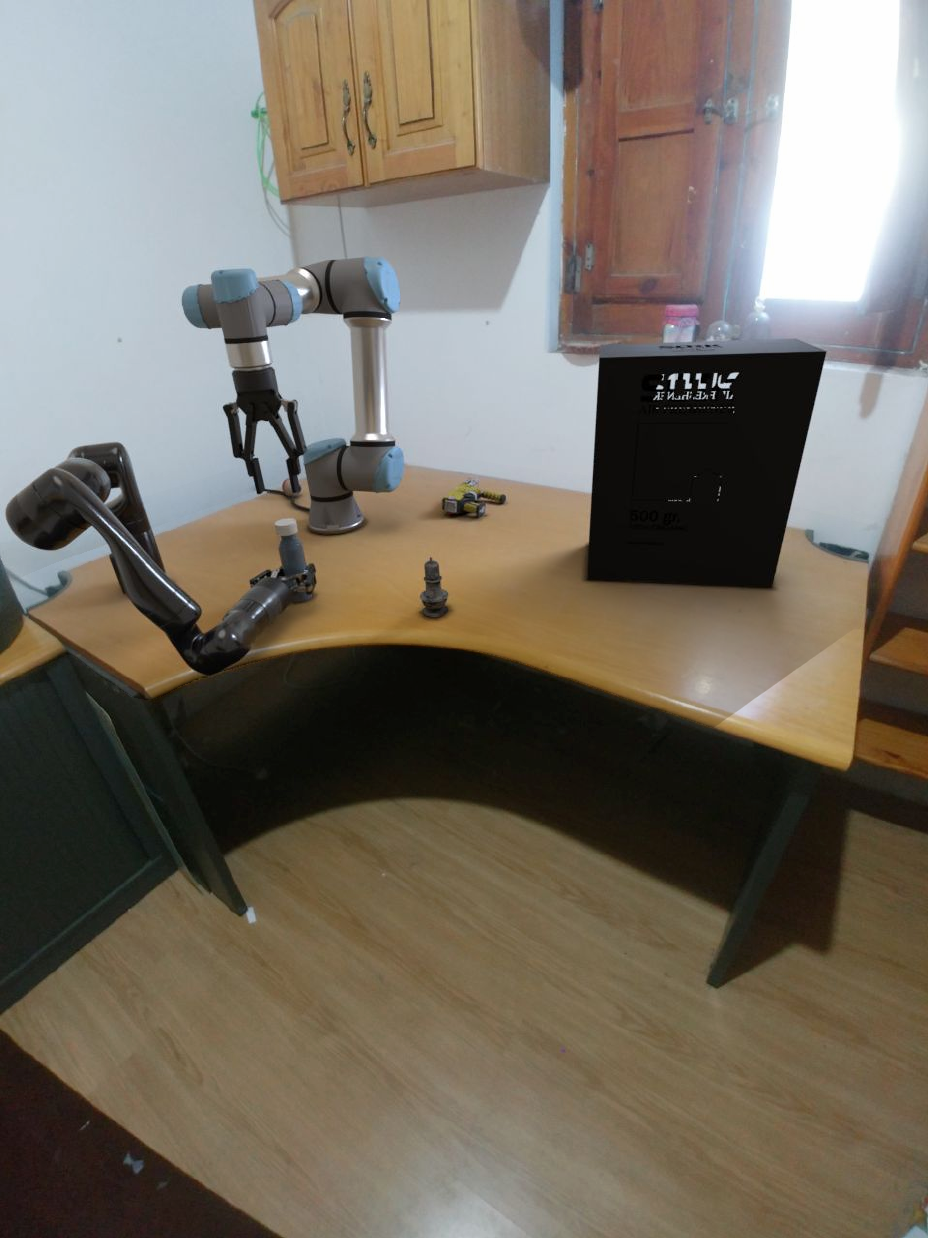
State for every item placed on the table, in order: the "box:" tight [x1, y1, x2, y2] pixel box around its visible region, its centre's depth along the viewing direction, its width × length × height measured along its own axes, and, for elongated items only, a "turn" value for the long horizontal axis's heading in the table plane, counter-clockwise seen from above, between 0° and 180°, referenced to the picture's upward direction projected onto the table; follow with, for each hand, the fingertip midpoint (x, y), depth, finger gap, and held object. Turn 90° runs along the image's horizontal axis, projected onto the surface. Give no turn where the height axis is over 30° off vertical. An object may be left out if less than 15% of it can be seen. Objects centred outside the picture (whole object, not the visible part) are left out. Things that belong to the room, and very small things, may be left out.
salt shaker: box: [419, 556, 450, 618], centre depth 120 cm, size 6×6×12 cm
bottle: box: [277, 533, 313, 603], centre depth 128 cm, size 5×5×17 cm
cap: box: [274, 517, 299, 537], centre depth 124 cm, size 4×4×2 cm
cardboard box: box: [586, 338, 828, 589], centre depth 126 cm, size 38×20×45 cm, turn 78°
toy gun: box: [441, 477, 507, 518], centre depth 177 cm, size 5×24×15 cm
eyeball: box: [281, 477, 303, 498], centre depth 192 cm, size 6×6×6 cm
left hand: (300, 566), depth 131 cm, fingers closed on bottle, 5 cm apart
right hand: (278, 491), depth 120 cm, fingers open, 6 cm apart
